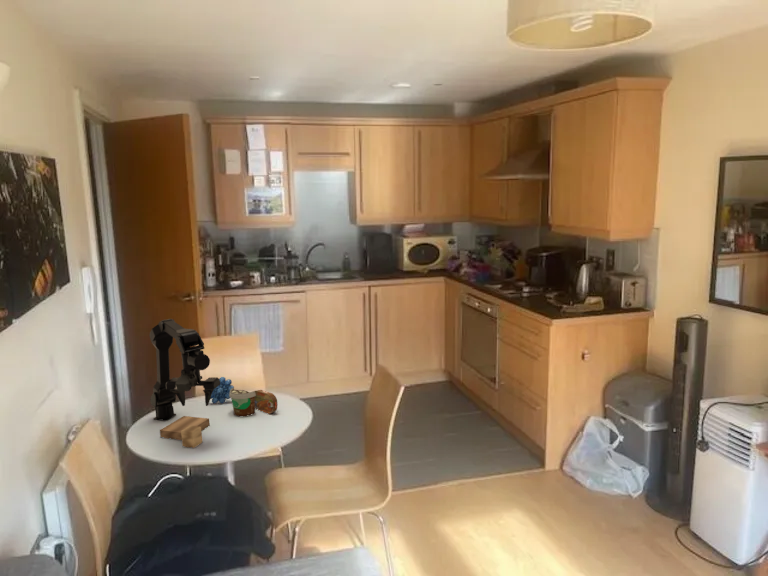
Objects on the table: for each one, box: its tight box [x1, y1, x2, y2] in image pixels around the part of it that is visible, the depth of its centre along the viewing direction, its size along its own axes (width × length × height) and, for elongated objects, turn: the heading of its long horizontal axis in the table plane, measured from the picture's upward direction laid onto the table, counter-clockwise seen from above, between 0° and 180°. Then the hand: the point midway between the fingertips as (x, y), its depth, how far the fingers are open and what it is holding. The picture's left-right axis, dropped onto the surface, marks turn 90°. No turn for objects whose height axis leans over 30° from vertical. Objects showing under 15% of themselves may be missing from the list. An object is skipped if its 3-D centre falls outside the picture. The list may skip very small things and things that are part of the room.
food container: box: [229, 387, 256, 417], centre depth 238 cm, size 12×6×10 cm, turn 62°
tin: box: [254, 389, 278, 415], centre depth 241 cm, size 15×3×8 cm, turn 48°
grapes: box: [210, 376, 235, 404], centre depth 252 cm, size 12×7×12 cm, turn 97°
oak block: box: [181, 426, 203, 449], centre depth 212 cm, size 5×5×6 cm
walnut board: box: [159, 415, 211, 441], centre depth 223 cm, size 12×14×3 cm
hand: (195, 405), depth 213 cm, fingers open, 9 cm apart
